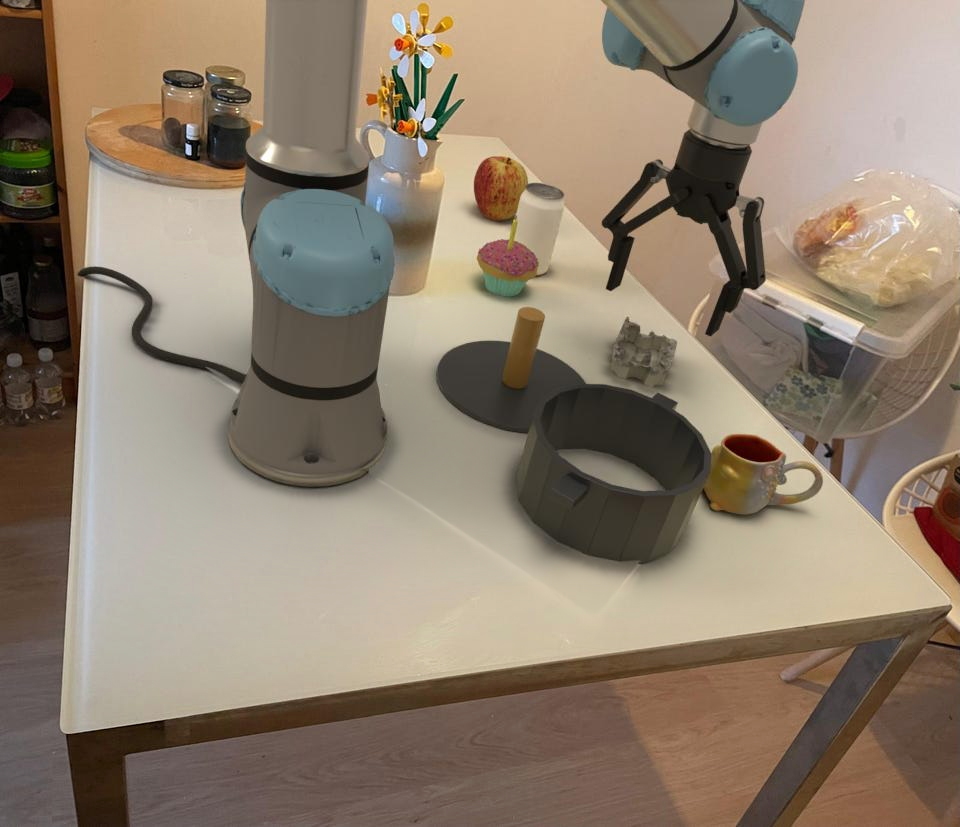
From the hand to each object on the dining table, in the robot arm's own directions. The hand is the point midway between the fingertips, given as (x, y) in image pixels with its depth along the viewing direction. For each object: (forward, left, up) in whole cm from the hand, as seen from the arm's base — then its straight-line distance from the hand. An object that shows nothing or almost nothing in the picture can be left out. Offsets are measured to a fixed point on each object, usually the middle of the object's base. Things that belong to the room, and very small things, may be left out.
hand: (661, 309), depth 103 cm
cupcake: (-23, +2, -9) cm, 25 cm away
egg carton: (0, 0, -9) cm, 9 cm away
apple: (-39, +24, -9) cm, 47 cm away
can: (-25, +12, -9) cm, 29 cm away
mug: (+21, -15, -9) cm, 27 cm away
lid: (-8, -18, -8) cm, 21 cm away
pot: (+9, -28, -8) cm, 31 cm away
